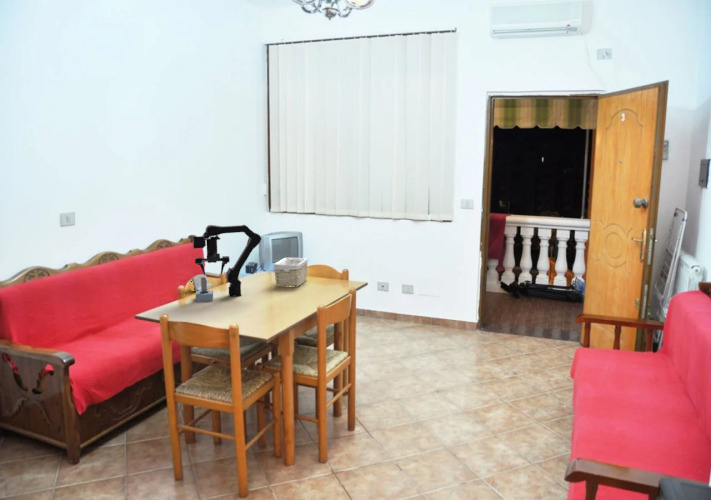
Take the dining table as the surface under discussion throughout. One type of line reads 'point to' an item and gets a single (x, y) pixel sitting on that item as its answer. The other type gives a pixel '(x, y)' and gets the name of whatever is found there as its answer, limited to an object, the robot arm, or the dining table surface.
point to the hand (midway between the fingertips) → (213, 274)
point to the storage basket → (290, 272)
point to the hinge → (199, 282)
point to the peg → (203, 285)
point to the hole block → (204, 296)
